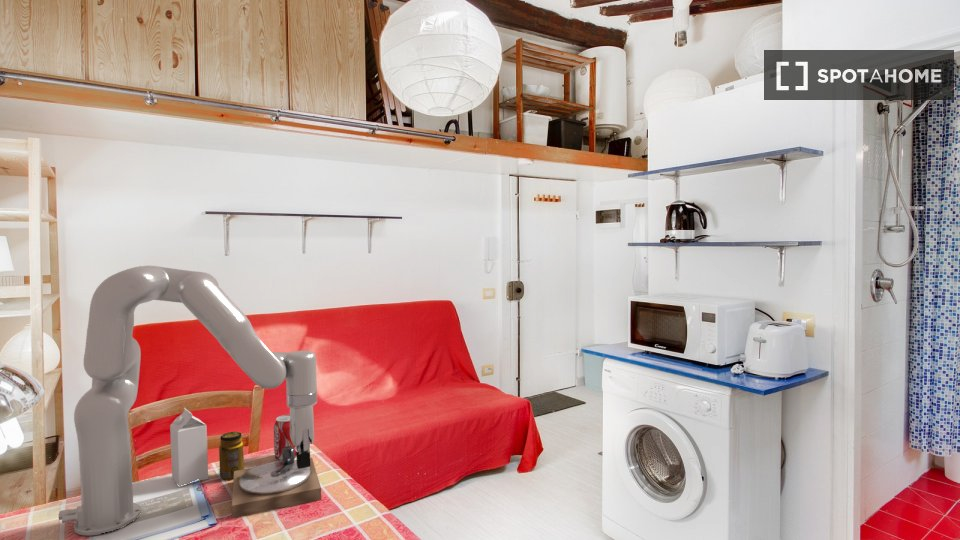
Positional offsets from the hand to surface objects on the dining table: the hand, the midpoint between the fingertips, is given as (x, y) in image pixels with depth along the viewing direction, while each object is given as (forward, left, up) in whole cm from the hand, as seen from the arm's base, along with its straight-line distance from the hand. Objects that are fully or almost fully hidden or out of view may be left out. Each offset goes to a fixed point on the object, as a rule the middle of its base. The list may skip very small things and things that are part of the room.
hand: (303, 466), depth 134 cm
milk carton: (-28, +17, -5) cm, 33 cm away
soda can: (-3, +21, -5) cm, 21 cm away
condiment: (-18, +14, -6) cm, 23 cm away
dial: (-7, 0, -2) cm, 7 cm away
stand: (-7, 0, -5) cm, 8 cm away
